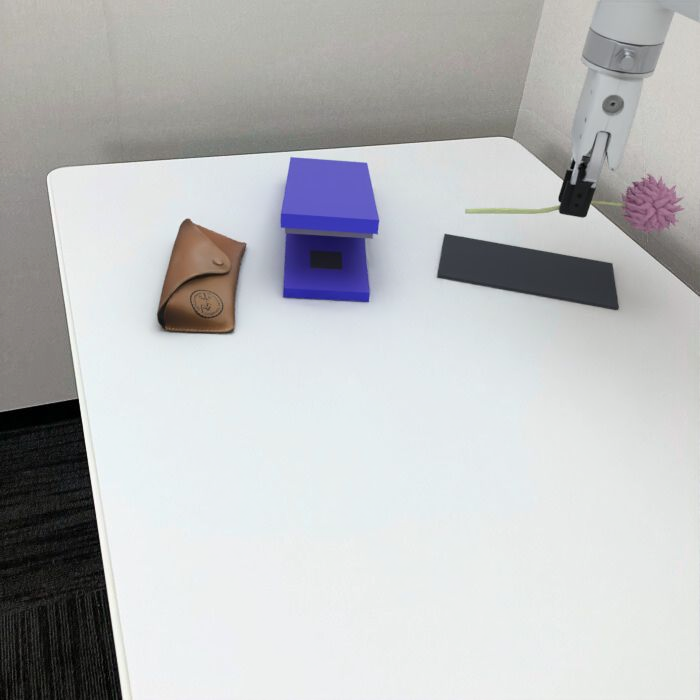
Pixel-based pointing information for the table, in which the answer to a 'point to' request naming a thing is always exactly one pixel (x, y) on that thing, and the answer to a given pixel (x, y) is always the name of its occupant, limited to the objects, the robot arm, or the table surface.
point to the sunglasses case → (200, 282)
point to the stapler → (327, 229)
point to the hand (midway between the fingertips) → (571, 207)
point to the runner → (528, 271)
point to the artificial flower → (627, 206)
